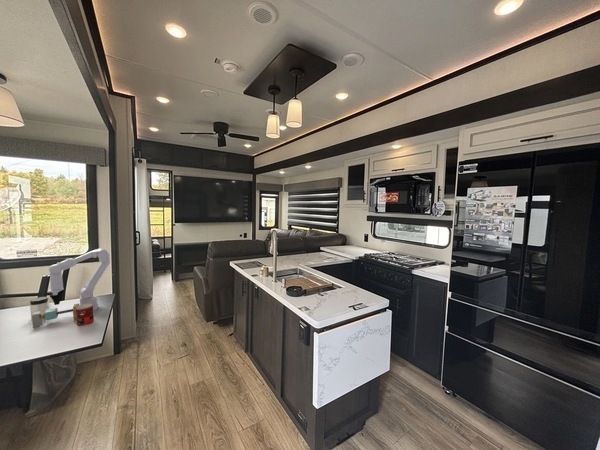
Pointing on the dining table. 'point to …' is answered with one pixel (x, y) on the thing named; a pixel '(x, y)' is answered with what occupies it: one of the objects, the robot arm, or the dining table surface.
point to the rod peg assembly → (38, 316)
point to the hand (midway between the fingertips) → (58, 302)
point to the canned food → (84, 314)
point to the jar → (39, 305)
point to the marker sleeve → (51, 314)
